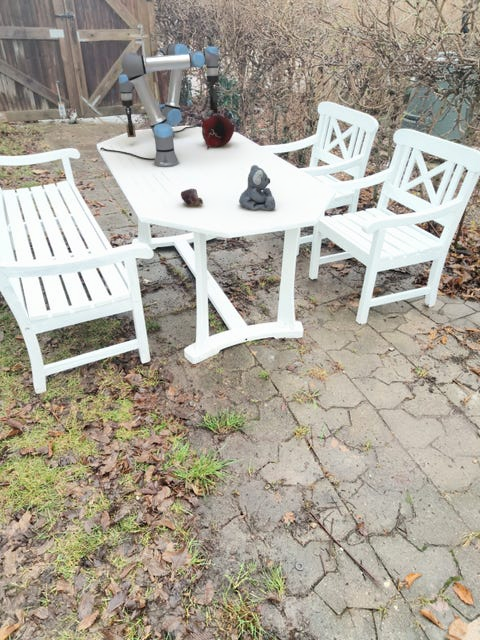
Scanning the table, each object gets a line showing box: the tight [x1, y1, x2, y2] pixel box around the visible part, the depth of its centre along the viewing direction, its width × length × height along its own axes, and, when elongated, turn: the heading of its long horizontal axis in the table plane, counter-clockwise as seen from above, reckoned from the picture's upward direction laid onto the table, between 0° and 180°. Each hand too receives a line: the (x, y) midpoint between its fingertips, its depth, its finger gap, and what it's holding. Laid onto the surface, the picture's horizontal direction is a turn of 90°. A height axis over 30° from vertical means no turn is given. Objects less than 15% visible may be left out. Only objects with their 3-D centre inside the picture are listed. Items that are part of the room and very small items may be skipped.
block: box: [125, 123, 137, 138], centre depth 329 cm, size 6×5×8 cm
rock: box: [180, 188, 204, 207], centre depth 229 cm, size 12×9×10 cm
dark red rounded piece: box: [200, 114, 235, 150], centre depth 329 cm, size 21×24×25 cm
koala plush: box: [238, 164, 276, 211], centre depth 224 cm, size 17×18×20 cm
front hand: (213, 111), depth 295 cm, fingers open, 13 cm apart
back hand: (131, 134), depth 330 cm, fingers closed on block, 5 cm apart
